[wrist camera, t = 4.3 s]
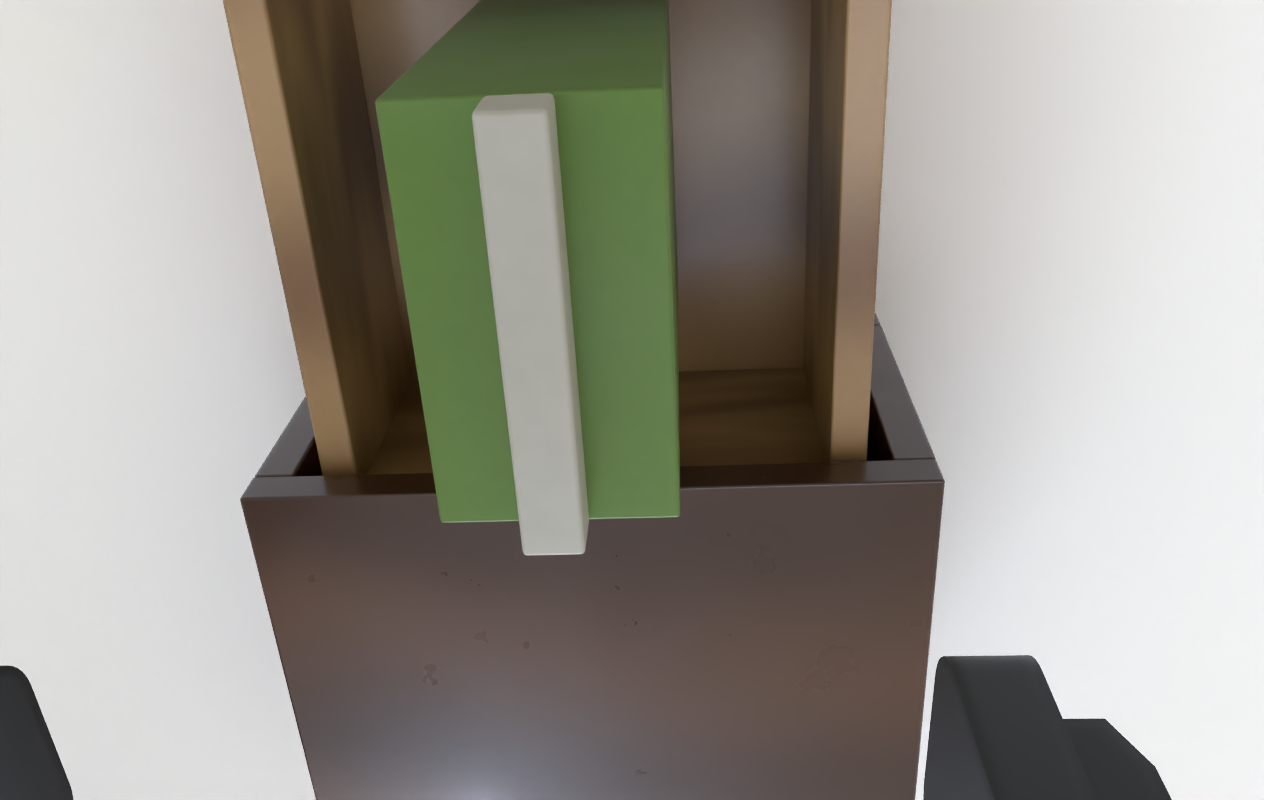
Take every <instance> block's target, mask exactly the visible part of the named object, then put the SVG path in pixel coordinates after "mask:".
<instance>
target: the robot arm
mask: <svg viewBox="0 0 1264 800" xmlns="http://www.w3.org/2000/svg"><path fill="white" fill-rule="evenodd" d="M0 800H73V795H72V790H71V787H70V784H69V781H68V779H67V776H66V774H65V771H64V768H63V766H62V763H61V761H60V758H59V756H58V753H57V751H56V748H55V745H54V743H53V740H52V738H51V735H50V733H49V730H48V728H47V725H46V722H45V720H44V717H43V715H42V712H41V710H40V707H39V705H38V702H37V699H36V697H35V694H34V692H33V689H32V687H31V684H30V682H29V680H28V678H27V677H26V676H25V674H24V673H23V672H22V671H20V670H19V669H18V668H15V667H13V666H0ZM924 800H1172V799H1171V797H1170V795H1169V793H1168V791H1167V789H1166V787H1165V785H1164V783H1163V782H1162V780H1161V778H1160V776H1159V774H1158V772H1157V770H1156V768H1155V766H1154V765H1153V764H1152V763H1150V762H1149V761H1148V760H1147V759H1146V758H1145V757H1144V756H1143V755H1142V754H1141V753H1140V752H1139V751H1138V750H1137V749H1136V748H1135V747H1134V746H1133V745H1132V744H1131V743H1130V742H1129V741H1127V740H1126V739H1125V738H1124V737H1123V736H1122V735H1121V734H1120V733H1119V732H1118V731H1117V730H1116V729H1115V728H1114V727H1113V726H1112V725H1111V724H1110V723H1109V722H1108V721H1107V720H1106V719H1062V716H1061V714H1060V712H1059V709H1058V707H1057V705H1056V702H1055V700H1054V698H1053V695H1052V693H1051V691H1050V688H1049V686H1048V684H1047V681H1046V679H1045V677H1044V674H1043V672H1042V670H1041V668H1040V666H1039V664H1038V662H1037V661H1036V660H1035V659H1034V658H1033V657H1032V656H1029V655H1018V656H943V657H941V658H940V660H939V662H938V664H937V669H936V675H935V683H934V693H933V703H932V712H931V722H930V731H929V741H928V751H927V760H926V770H925V779H924Z"/></svg>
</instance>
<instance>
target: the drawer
mask: <svg viewBox="0 0 1264 800" xmlns="http://www.w3.org/2000/svg"><path fill="white" fill-rule="evenodd" d="M479 1H480V0H223V3H224V8H225V13H226V18H227V22H228V27H229V32H230V37H231V41H232V46H233V51H234V56H235V60H236V65H237V70H238V75H239V79H240V84H241V89H242V94H243V98H244V103H245V108H246V113H247V117H248V122H249V127H250V132H251V136H252V141H253V146H254V151H255V155H256V160H257V165H258V170H259V175H260V179H261V184H262V189H263V194H264V198H265V203H266V208H267V213H268V217H269V222H270V227H271V232H272V236H273V241H274V246H275V251H276V255H277V260H278V265H279V270H280V274H281V279H282V284H283V289H284V293H285V298H286V303H287V308H288V313H289V317H290V322H291V327H292V332H293V336H294V341H295V346H296V351H297V355H298V360H299V365H300V370H301V374H302V379H303V384H304V389H305V393H306V398H307V403H308V408H309V412H310V417H311V422H312V427H313V431H314V436H315V441H316V446H317V451H318V455H319V460H320V465H321V470H322V474H323V476H332V475H369V474H406V473H433V469H432V463H431V457H430V450H429V444H428V437H427V431H426V425H425V418H424V412H423V405H422V399H421V393H420V386H419V380H418V373H417V367H416V361H415V354H414V348H413V341H412V335H411V329H410V322H409V316H408V309H407V303H406V297H405V290H404V284H403V277H402V271H401V265H400V258H399V252H398V245H397V239H396V233H395V226H394V220H393V213H392V207H391V201H390V194H389V188H388V181H387V175H386V169H385V162H384V156H383V149H382V143H381V137H380V130H379V124H378V117H377V111H376V105H375V101H376V99H377V98H378V97H379V96H380V95H382V94H383V93H384V92H385V91H386V90H387V89H388V88H389V87H390V86H391V85H392V84H393V83H394V82H395V81H396V80H397V79H398V78H399V77H400V76H402V75H403V74H404V73H405V72H406V71H407V70H408V69H409V68H410V67H411V66H412V65H413V64H414V63H415V62H416V61H417V60H418V59H419V58H420V57H422V56H423V55H424V54H425V53H426V52H427V51H428V50H429V49H430V48H431V47H432V46H433V45H434V44H435V43H436V42H437V41H438V40H439V39H440V38H441V37H443V36H444V35H445V34H446V33H447V32H448V31H449V30H450V29H451V28H452V27H453V26H454V25H455V24H456V23H457V22H458V21H459V20H460V19H461V18H463V17H464V16H465V15H466V14H467V13H468V12H469V11H470V10H471V9H472V8H473V7H474V6H475V5H476V4H477V3H478V2H479ZM891 4H892V0H668V6H669V35H670V65H671V94H672V124H673V153H674V183H675V212H676V242H677V271H678V354H679V442H680V466H703V465H740V464H777V463H814V462H852V461H867V444H868V426H869V408H870V389H871V371H872V353H873V334H874V316H875V298H876V279H877V261H878V243H879V224H880V206H881V188H882V169H883V151H884V133H885V114H886V96H887V78H888V59H889V41H890V23H891Z"/></svg>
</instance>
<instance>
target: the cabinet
mask: <svg viewBox="0 0 1264 800" xmlns="http://www.w3.org/2000/svg"><path fill="white" fill-rule="evenodd" d="M944 483H945V481H944V479H943V476H942V474H941V471H940V469H939V466H938V464H937V461H936V459H935V456H934V454H933V451H932V449H931V446H930V444H929V442H928V439H927V437H926V434H925V432H924V429H923V427H922V425H921V422H920V420H919V417H918V415H917V412H916V410H915V407H914V405H913V403H912V400H911V398H910V395H909V393H908V390H907V388H906V386H905V383H904V381H903V378H902V376H901V373H900V371H899V369H898V366H897V364H896V361H895V359H894V356H893V354H892V351H891V349H890V347H889V344H888V342H887V339H886V337H885V334H884V332H883V330H882V327H881V326H880V323H879V321H878V318H877V316H876V313H875V316H874V334H873V353H872V371H871V389H870V408H869V426H868V444H867V461H852V462H814V463H777V464H740V465H703V466H680V516H679V517H660V518H619V519H589V524H588V533H587V541H586V549H585V552H584V553H583V554H569V555H524V553H523V550H522V542H521V533H520V525H519V521H497V522H456V523H442V522H441V520H440V514H439V508H438V501H437V495H436V489H435V482H434V476H433V473H406V474H369V475H332V476H323V474H322V470H321V465H320V460H319V455H318V451H317V446H316V441H315V436H314V431H313V427H312V422H311V417H310V412H309V408H308V403H307V398H306V397H305V398H304V400H303V401H302V403H301V404H300V406H299V408H298V409H297V411H296V412H295V414H294V415H293V417H292V419H291V420H290V422H289V423H288V425H287V426H286V428H285V430H284V431H283V433H282V434H281V436H280V438H279V439H278V441H277V442H276V444H275V445H274V447H273V449H272V450H271V452H270V453H269V455H268V456H267V458H266V460H265V461H264V463H263V464H262V466H261V467H260V469H259V471H258V472H257V474H256V475H255V478H253V479H252V481H251V483H250V484H249V486H248V487H247V489H246V491H245V492H244V494H243V495H242V497H241V499H240V501H241V505H242V509H243V512H244V516H245V520H246V524H247V528H248V532H249V536H250V540H251V544H252V548H253V552H254V556H255V560H256V564H257V568H258V572H259V576H260V580H261V584H262V587H263V591H264V595H265V599H266V603H267V607H268V611H269V615H270V619H271V623H272V627H273V631H274V635H275V639H276V643H277V647H278V651H279V655H280V659H281V662H282V666H283V670H284V674H285V678H286V682H287V686H288V690H289V694H290V698H291V702H292V706H293V710H294V714H295V718H296V722H297V726H298V730H299V734H300V737H301V741H302V745H303V749H304V753H305V757H306V761H307V765H308V769H309V773H310V777H311V781H312V785H313V789H314V793H315V797H316V800H915V794H916V784H917V773H918V762H919V751H920V741H921V730H922V719H923V708H924V698H925V687H926V676H927V666H928V655H929V644H930V633H931V623H932V612H933V601H934V590H935V580H936V569H937V558H938V548H939V537H940V526H941V515H942V505H943V494H944Z"/></svg>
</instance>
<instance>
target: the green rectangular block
mask: <svg viewBox="0 0 1264 800" xmlns="http://www.w3.org/2000/svg"><path fill="white" fill-rule="evenodd" d="M375 105H376V111H377V117H378V124H379V130H380V137H381V143H382V149H383V156H384V162H385V169H386V175H387V181H388V188H389V194H390V201H391V207H392V213H393V220H394V226H395V233H396V239H397V245H398V252H399V258H400V265H401V271H402V277H403V284H404V290H405V297H406V303H407V309H408V316H409V322H410V329H411V335H412V341H413V348H414V354H415V361H416V367H417V373H418V380H419V386H420V393H421V399H422V405H423V412H424V418H425V425H426V431H427V437H428V444H429V450H430V457H431V463H432V469H433V476H434V482H435V489H436V495H437V501H438V508H439V514H440V520H441V522H442V523H456V522H497V521H519V525H520V533H521V542H522V550H523V553H524V555H569V554H583V553H584V552H585V549H586V541H587V533H588V524H589V519H619V518H660V517H679V516H680V442H679V354H678V271H677V242H676V212H675V183H674V153H673V124H672V94H671V65H670V35H669V6H668V0H480V1H479V2H478V3H477V4H476V5H475V6H474V7H473V8H472V9H471V10H470V11H469V12H468V13H467V14H466V15H465V16H464V17H463V18H461V19H460V20H459V21H458V22H457V23H456V24H455V25H454V26H453V27H452V28H451V29H450V30H449V31H448V32H447V33H446V34H445V35H444V36H443V37H441V38H440V39H439V40H438V41H437V42H436V43H435V44H434V45H433V46H432V47H431V48H430V49H429V50H428V51H427V52H426V53H425V54H424V55H423V56H422V57H420V58H419V59H418V60H417V61H416V62H415V63H414V64H413V65H412V66H411V67H410V68H409V69H408V70H407V71H406V72H405V73H404V74H403V75H402V76H400V77H399V78H398V79H397V80H396V81H395V82H394V83H393V84H392V85H391V86H390V87H389V88H388V89H387V90H386V91H385V92H384V93H383V94H382V95H380V96H379V97H378V98H377V99H376V101H375Z"/></svg>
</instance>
